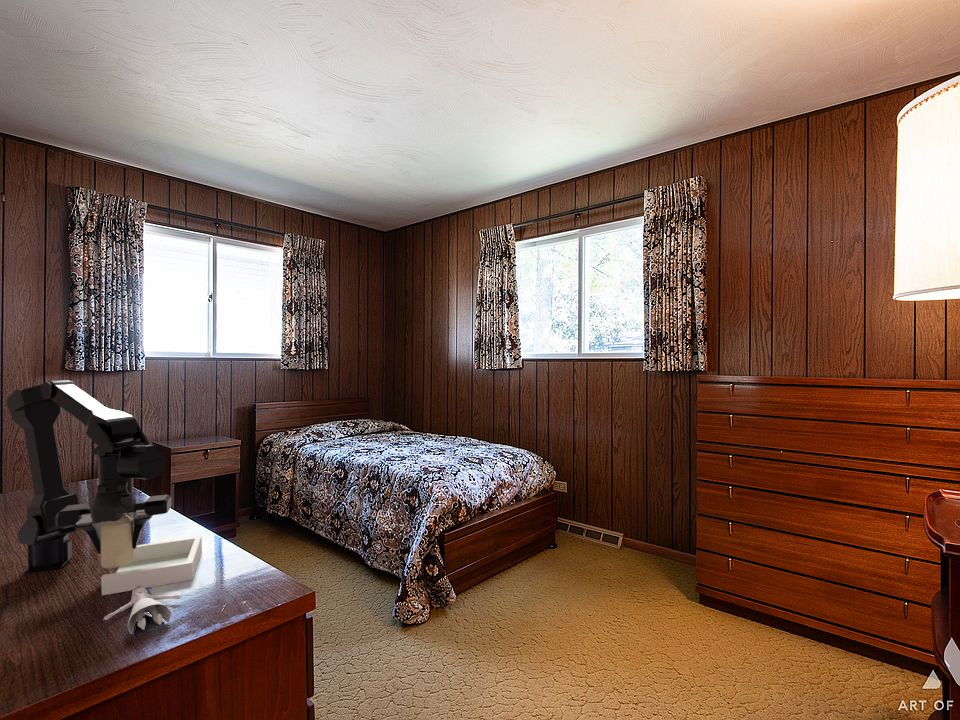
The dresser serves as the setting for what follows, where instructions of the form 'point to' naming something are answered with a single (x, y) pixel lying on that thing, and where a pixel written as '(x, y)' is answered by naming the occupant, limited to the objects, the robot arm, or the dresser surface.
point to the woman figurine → (145, 608)
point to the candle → (117, 542)
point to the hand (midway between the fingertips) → (117, 550)
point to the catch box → (156, 565)
